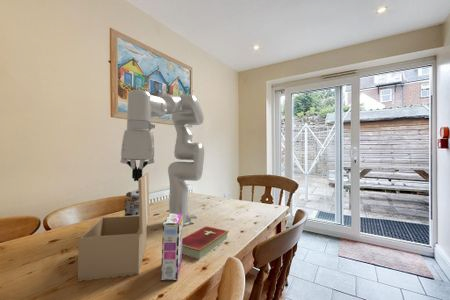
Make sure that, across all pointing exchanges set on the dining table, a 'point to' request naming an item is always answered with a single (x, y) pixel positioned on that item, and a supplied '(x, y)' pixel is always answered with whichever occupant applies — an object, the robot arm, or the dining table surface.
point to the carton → (111, 248)
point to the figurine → (132, 203)
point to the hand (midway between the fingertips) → (137, 180)
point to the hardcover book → (202, 241)
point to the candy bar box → (172, 246)
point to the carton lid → (143, 201)
